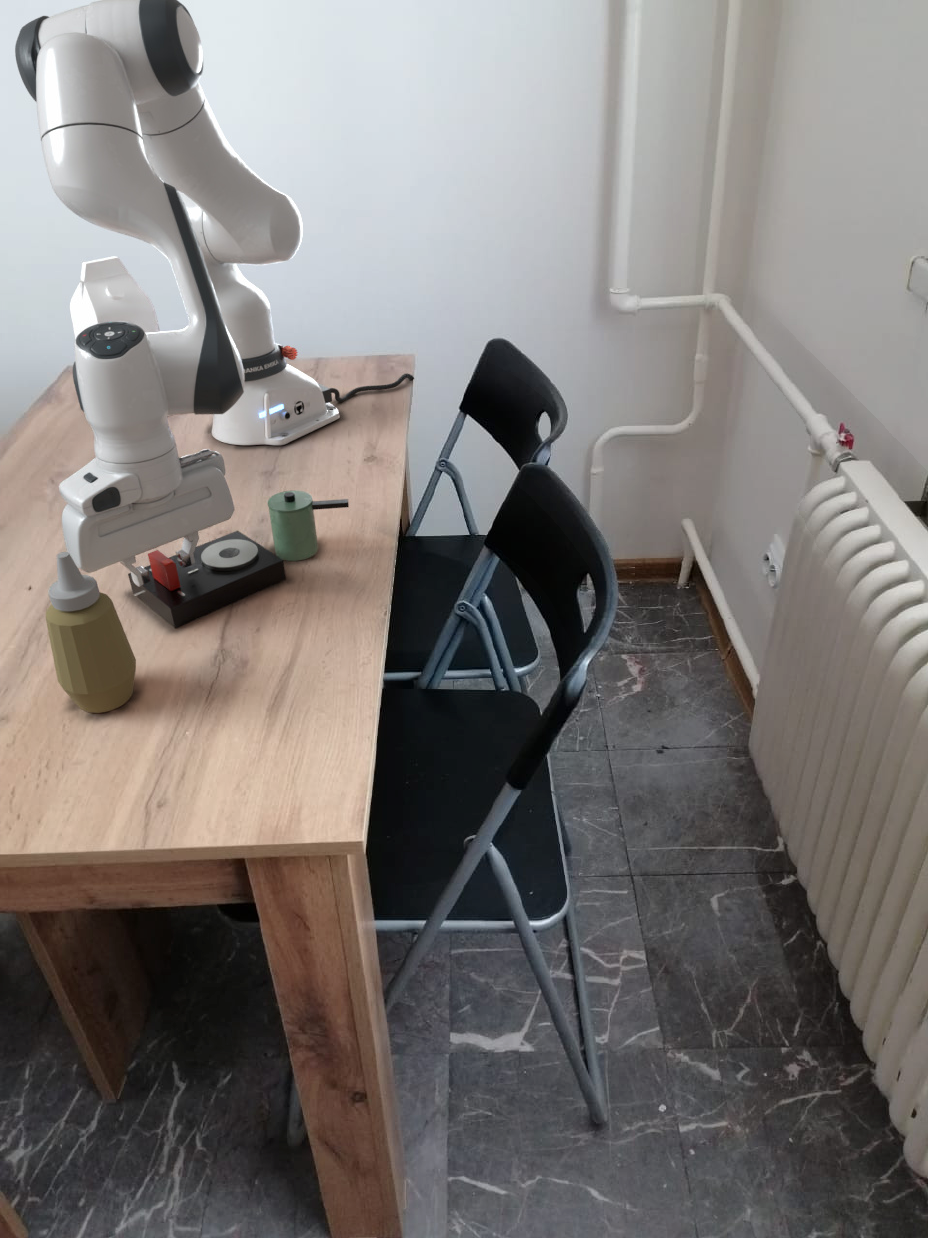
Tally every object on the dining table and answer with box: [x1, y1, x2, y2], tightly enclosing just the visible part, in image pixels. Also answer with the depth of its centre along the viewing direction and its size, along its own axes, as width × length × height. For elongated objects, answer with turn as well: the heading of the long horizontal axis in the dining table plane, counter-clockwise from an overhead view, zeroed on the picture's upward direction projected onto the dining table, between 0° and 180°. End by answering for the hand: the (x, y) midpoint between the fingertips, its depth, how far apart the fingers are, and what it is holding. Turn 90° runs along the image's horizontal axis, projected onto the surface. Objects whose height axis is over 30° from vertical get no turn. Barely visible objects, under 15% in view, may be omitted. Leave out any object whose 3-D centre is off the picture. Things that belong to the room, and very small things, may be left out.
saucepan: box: [267, 490, 349, 562], centre depth 126 cm, size 9×8×8 cm
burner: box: [201, 539, 258, 571], centre depth 121 cm, size 7×7×1 cm
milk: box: [69, 255, 161, 340], centre depth 166 cm, size 12×12×26 cm
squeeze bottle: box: [45, 551, 137, 714], centre depth 98 cm, size 8×8×18 cm
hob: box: [127, 530, 287, 629], centre depth 120 cm, size 18×11×3 cm, turn 133°
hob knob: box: [147, 549, 181, 591], centre depth 115 cm, size 4×1×4 cm, turn 43°
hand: (164, 573), depth 116 cm, fingers open, 5 cm apart
